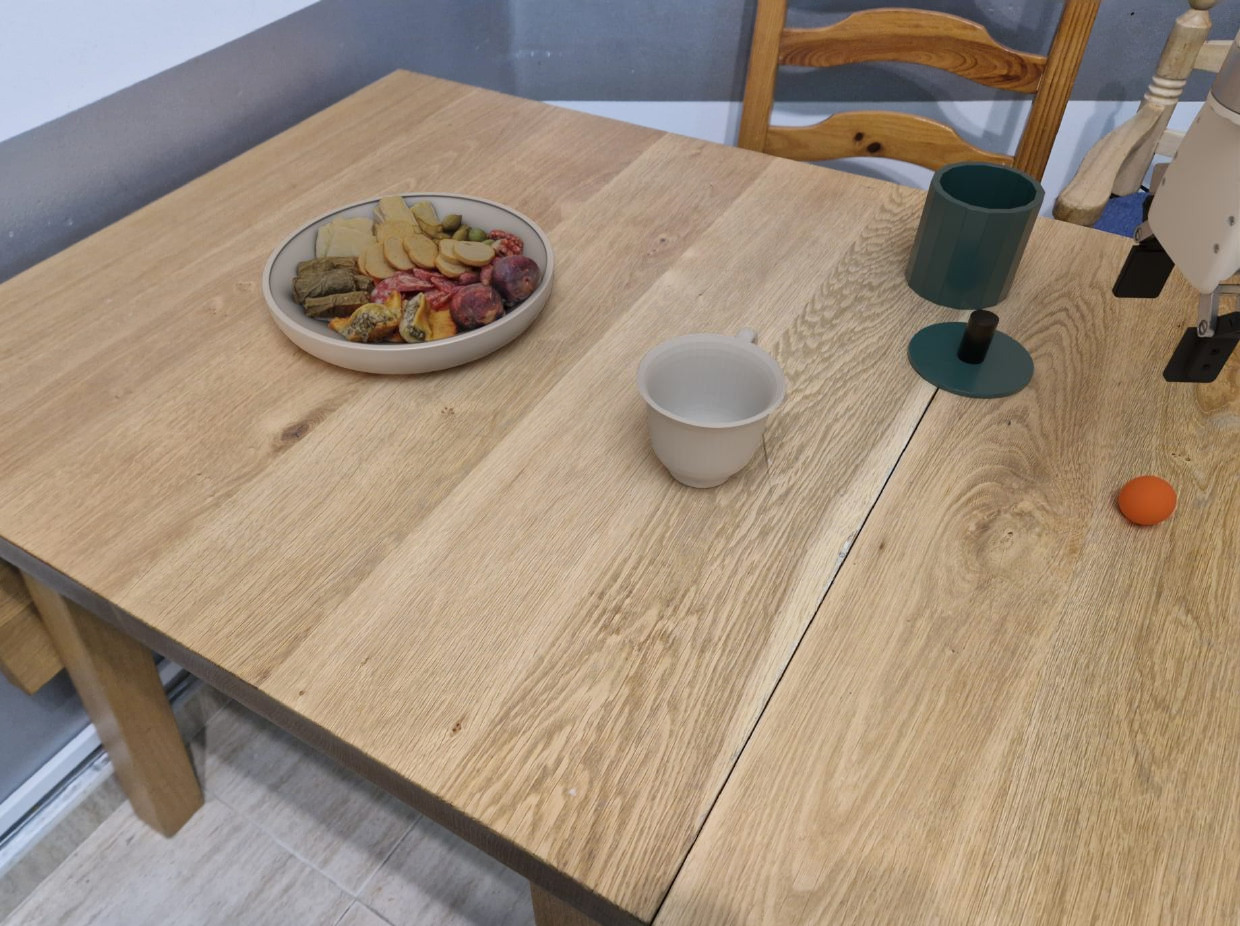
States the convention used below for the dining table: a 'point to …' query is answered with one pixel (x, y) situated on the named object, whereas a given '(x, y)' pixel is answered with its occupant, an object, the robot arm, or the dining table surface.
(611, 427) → the dining table surface
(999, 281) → the teal hollow cylinder
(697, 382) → the teacup
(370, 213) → the bowl
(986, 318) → the canister lid
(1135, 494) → the ball
